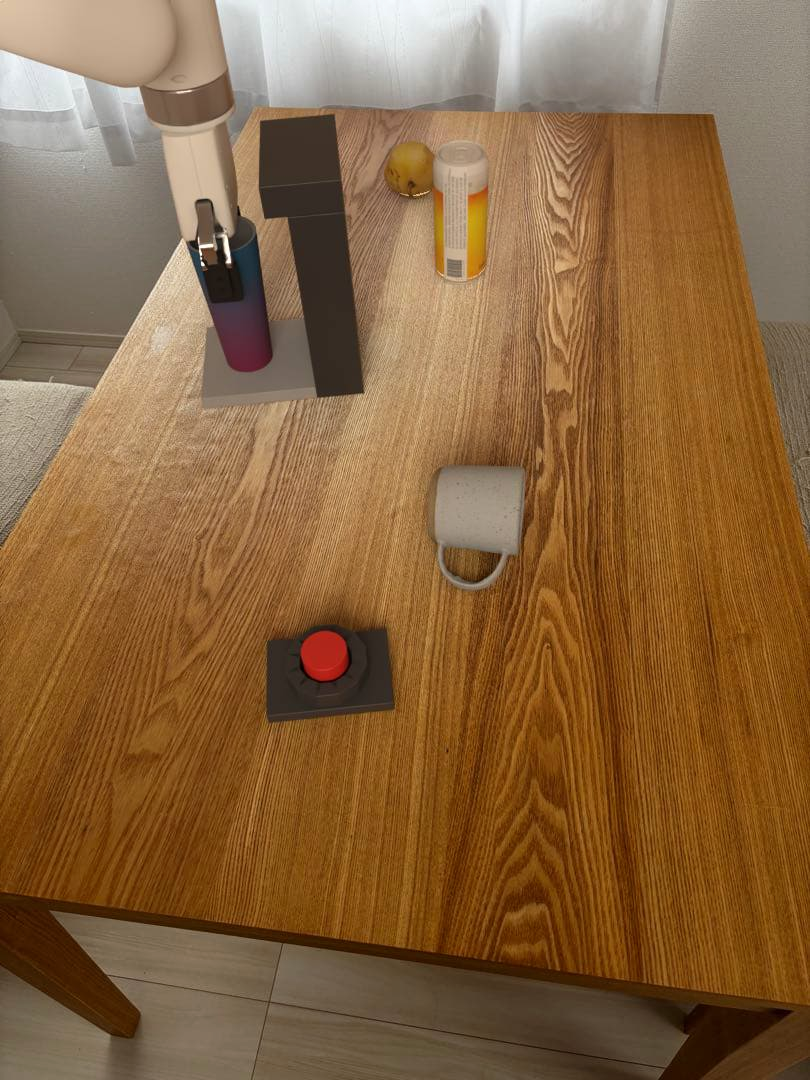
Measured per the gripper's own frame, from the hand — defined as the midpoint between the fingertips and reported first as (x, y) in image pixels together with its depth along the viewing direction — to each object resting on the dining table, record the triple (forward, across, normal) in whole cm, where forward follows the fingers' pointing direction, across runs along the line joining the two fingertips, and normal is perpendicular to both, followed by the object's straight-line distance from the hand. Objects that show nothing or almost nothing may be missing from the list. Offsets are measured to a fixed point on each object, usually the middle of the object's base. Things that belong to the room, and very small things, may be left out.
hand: (229, 271), depth 86 cm
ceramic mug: (+13, +28, +21) cm, 37 cm away
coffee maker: (+12, 0, +3) cm, 13 cm away
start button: (+10, +40, +7) cm, 42 cm away
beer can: (+12, -14, +25) cm, 31 cm away
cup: (+11, 0, 0) cm, 11 cm away
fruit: (+12, -33, +21) cm, 41 cm away
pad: (+12, +40, +7) cm, 42 cm away
